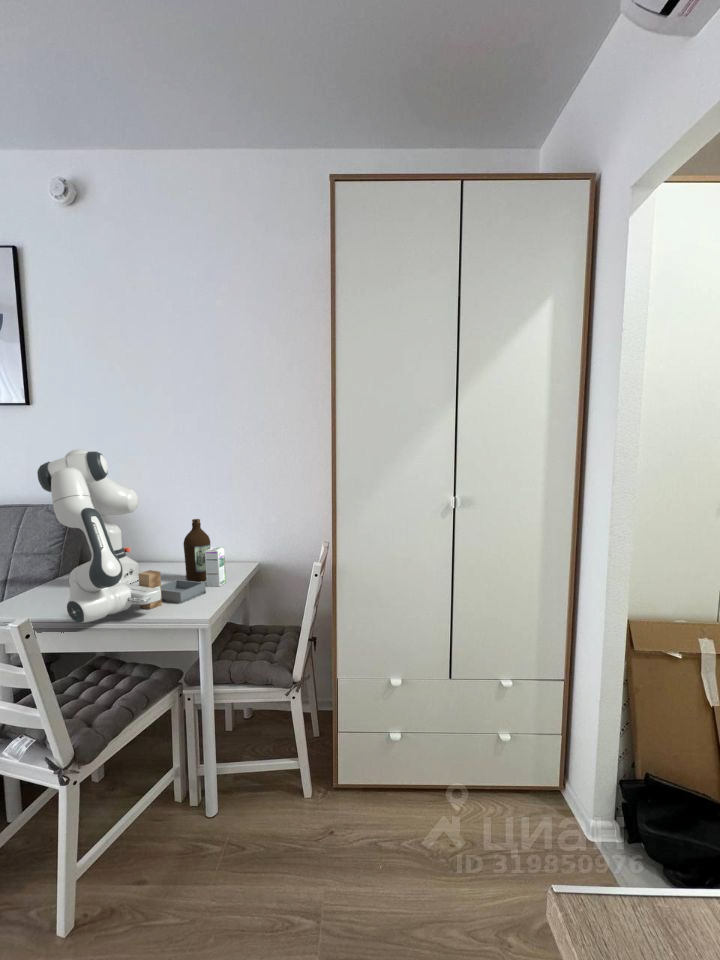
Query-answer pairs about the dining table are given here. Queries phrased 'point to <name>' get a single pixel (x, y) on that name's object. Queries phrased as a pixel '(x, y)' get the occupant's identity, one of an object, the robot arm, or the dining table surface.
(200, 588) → the bin
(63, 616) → the dining table surface
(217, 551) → the syrup box
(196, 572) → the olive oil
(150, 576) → the wooden block
